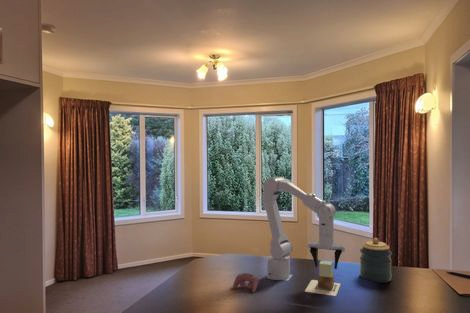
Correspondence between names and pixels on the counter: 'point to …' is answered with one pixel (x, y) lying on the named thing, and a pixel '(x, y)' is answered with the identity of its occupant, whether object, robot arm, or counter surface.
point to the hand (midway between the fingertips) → (326, 267)
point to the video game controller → (246, 277)
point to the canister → (375, 261)
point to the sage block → (325, 268)
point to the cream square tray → (314, 289)
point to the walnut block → (326, 282)
